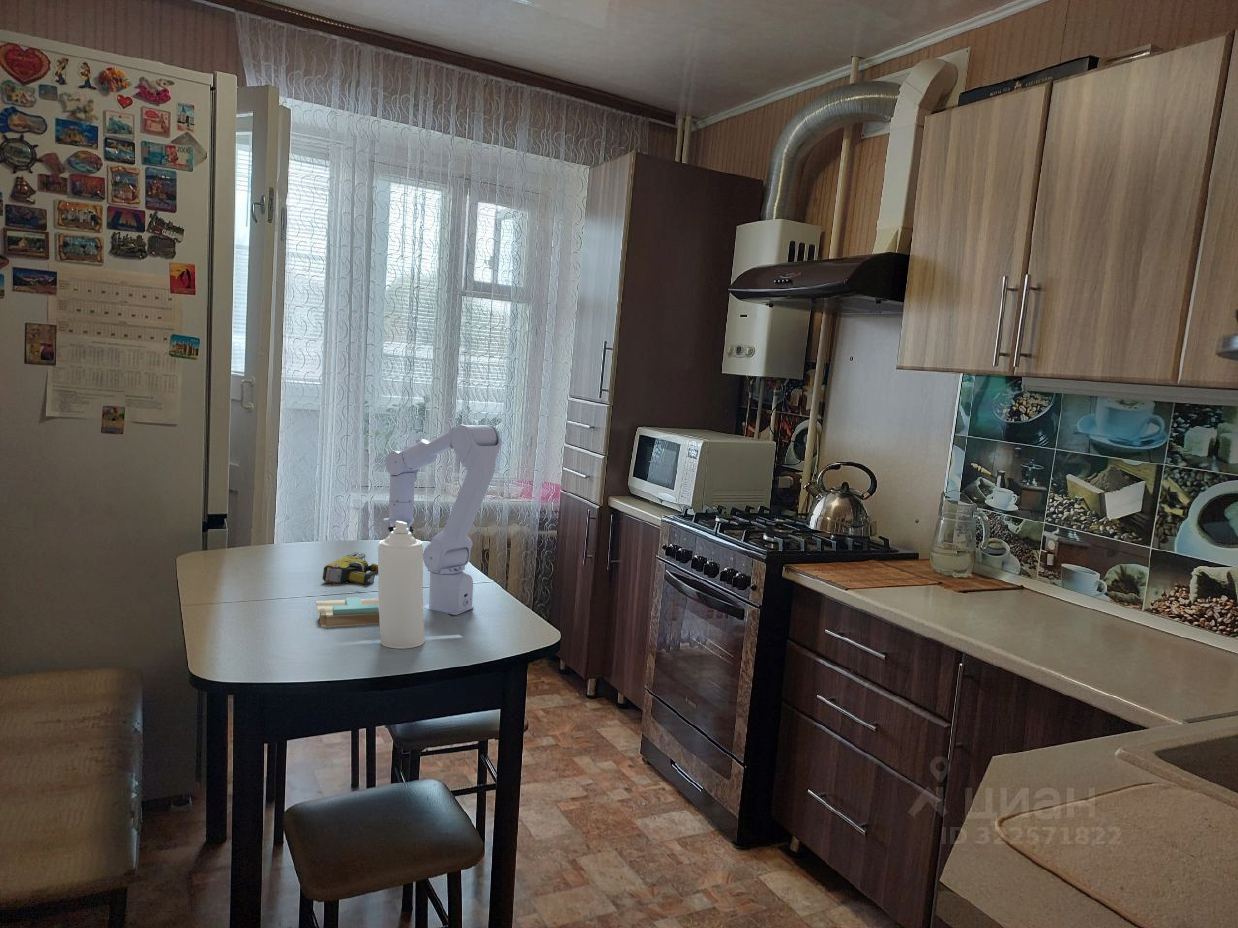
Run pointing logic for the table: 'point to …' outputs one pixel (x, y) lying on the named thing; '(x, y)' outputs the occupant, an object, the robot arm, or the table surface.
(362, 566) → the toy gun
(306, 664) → the table surface
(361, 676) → the table surface
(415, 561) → the spray can
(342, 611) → the t block
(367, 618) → the board
